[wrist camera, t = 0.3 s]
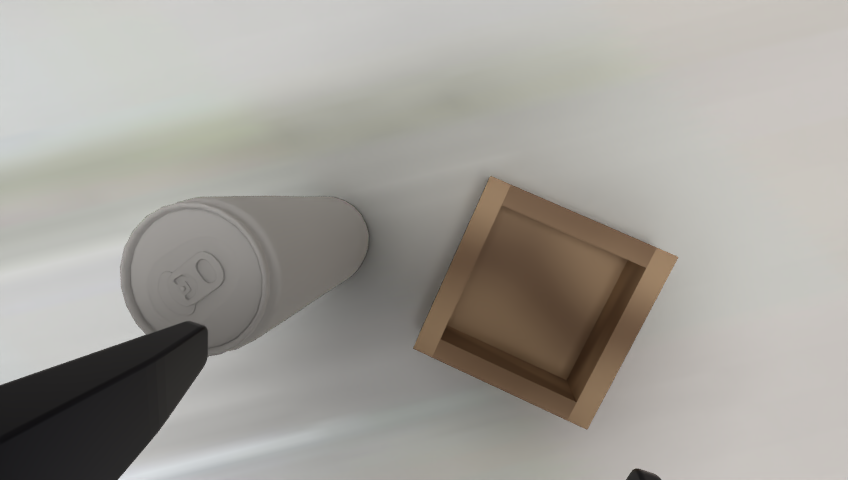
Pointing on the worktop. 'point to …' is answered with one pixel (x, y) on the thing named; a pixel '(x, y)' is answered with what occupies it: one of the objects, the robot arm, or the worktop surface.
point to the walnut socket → (543, 302)
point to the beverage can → (238, 262)
